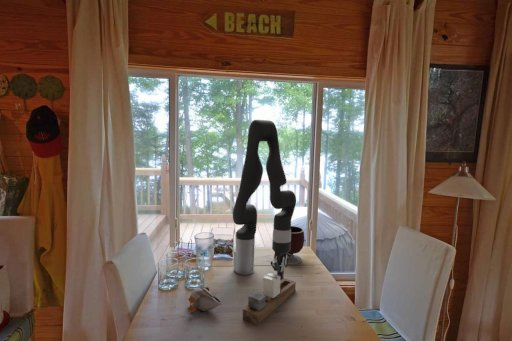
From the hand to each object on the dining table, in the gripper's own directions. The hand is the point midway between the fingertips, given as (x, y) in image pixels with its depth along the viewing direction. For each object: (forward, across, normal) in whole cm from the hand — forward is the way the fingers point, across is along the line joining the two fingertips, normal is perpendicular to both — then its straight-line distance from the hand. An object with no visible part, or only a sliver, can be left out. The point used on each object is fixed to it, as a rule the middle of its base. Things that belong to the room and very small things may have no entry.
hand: (280, 279), depth 122 cm
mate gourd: (+8, -36, -15) cm, 40 cm away
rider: (+5, +7, 0) cm, 9 cm away
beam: (+7, +7, 0) cm, 10 cm away
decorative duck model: (+8, +24, -18) cm, 31 cm away
